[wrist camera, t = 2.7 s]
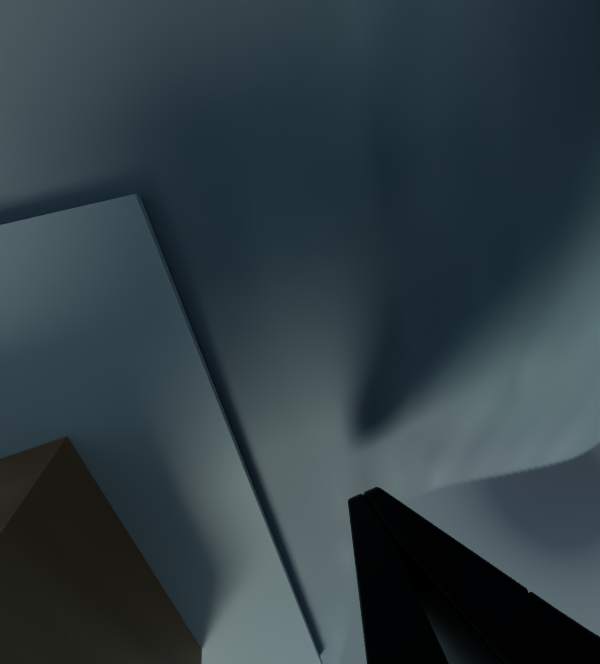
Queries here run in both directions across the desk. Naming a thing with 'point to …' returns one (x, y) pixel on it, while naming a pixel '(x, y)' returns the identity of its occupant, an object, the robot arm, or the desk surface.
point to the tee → (76, 572)
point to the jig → (142, 421)
